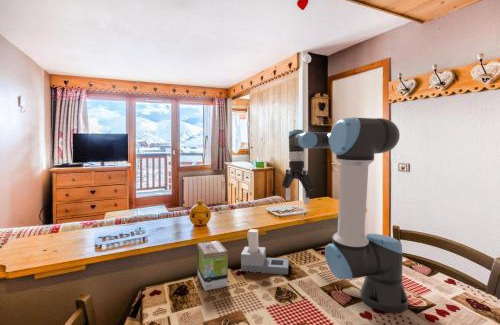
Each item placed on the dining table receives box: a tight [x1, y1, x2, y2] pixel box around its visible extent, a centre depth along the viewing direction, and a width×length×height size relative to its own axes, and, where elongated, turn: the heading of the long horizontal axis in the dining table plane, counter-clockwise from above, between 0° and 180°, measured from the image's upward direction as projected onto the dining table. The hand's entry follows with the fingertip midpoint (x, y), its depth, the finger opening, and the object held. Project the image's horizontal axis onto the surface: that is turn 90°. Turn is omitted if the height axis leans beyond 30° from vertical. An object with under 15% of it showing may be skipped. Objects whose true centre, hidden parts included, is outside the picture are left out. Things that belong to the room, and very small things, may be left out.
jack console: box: [240, 246, 290, 275], centre depth 124 cm, size 10×21×8 cm, turn 80°
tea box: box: [196, 240, 229, 291], centre depth 112 cm, size 15×10×15 cm, turn 22°
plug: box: [246, 228, 259, 253], centre depth 124 cm, size 4×5×12 cm
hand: (296, 202), depth 135 cm, fingers open, 13 cm apart
